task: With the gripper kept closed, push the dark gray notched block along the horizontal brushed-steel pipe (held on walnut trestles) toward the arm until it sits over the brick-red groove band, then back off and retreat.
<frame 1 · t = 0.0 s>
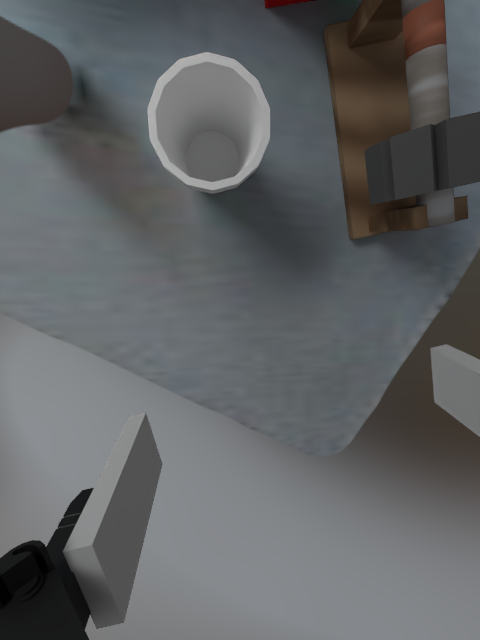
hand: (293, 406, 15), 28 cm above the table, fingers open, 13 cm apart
dark gray notched block: (427, 163, 31), point 9 cm above the table, touching pipe rig
foam cup: (212, 161, 38), on the table
pipe rig: (375, 134, 39), on the table
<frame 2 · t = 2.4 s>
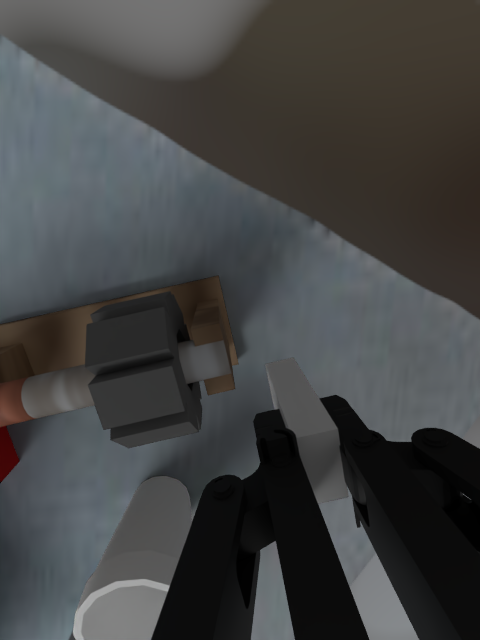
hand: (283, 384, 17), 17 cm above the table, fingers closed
dark gray notched block: (152, 367, 25), point 9 cm above the table, touching pipe rig
foam cup: (162, 498, 39), on the table
pipe rig: (121, 343, 34), on the table
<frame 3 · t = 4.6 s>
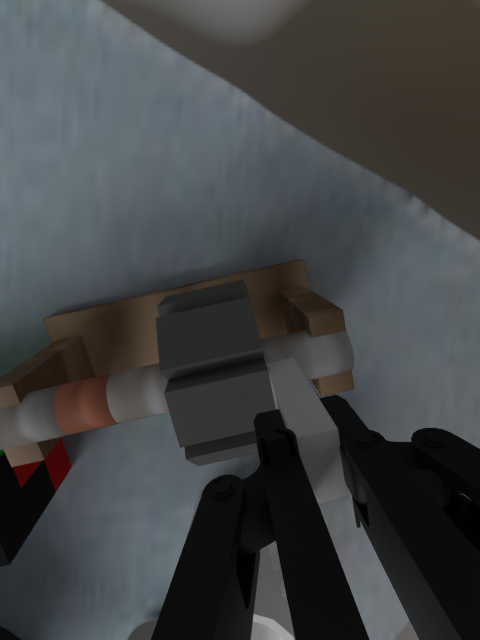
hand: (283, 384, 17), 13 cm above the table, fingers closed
dark gray notched block: (222, 369, 21), point 9 cm above the table, touching gripper, pipe rig
foam cup: (225, 507, 35), on the table
puzzle toy: (3, 430, 31), on the table
pipe rig: (188, 336, 30), on the table
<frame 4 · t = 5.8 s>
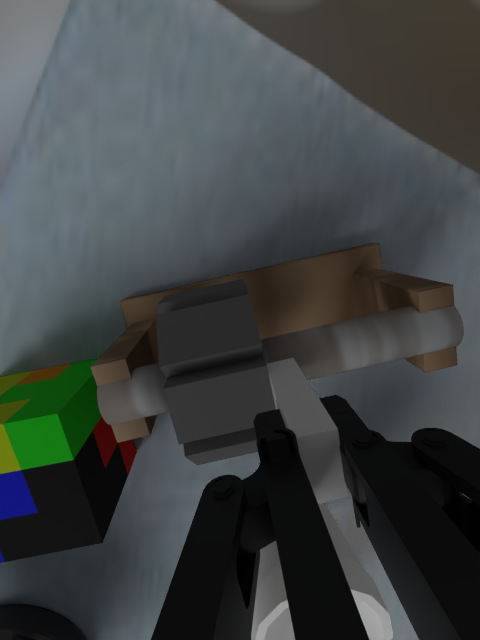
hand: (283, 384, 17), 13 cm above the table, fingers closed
dark gray notched block: (221, 368, 21), point 9 cm above the table, touching pipe rig
foam cup: (285, 493, 35), on the table
puzzle toy: (71, 414, 31), on the table
pipe rig: (258, 320, 30), on the table
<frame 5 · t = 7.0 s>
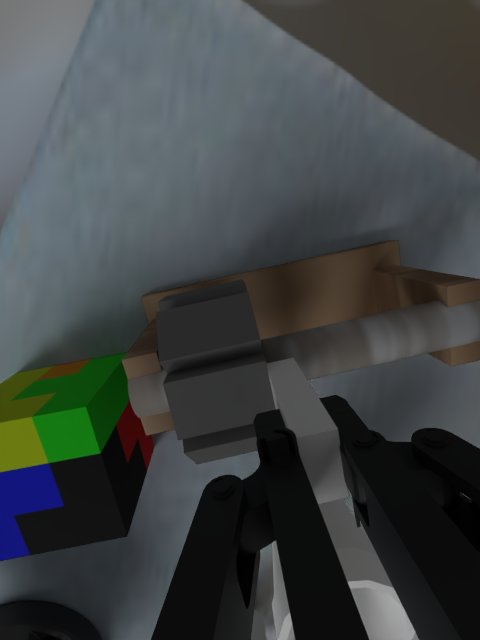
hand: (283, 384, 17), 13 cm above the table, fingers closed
dark gray notched block: (221, 367, 21), point 9 cm above the table, touching gripper, pipe rig
foam cup: (300, 490, 35), on the table
puzzle toy: (89, 410, 32), on the table
pipe rig: (277, 316, 30), on the table
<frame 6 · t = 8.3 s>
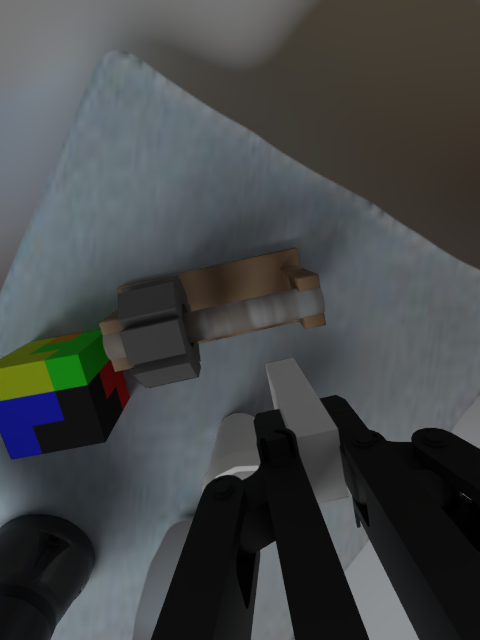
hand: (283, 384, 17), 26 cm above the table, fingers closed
dark gray notched block: (163, 330, 33), point 9 cm above the table, touching pipe rig
foam cup: (239, 431, 47), on the table
puzzle toy: (82, 369, 44), on the table
pipe rig: (215, 302, 42), on the table
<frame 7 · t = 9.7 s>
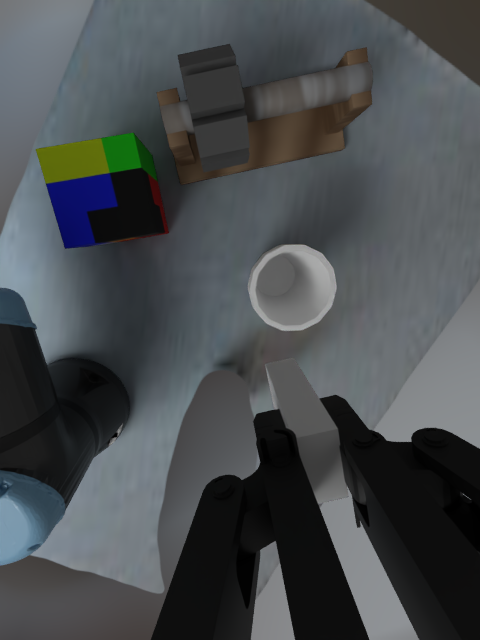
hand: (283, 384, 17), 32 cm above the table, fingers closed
dark gray notched block: (215, 113, 35), point 9 cm above the table, touching pipe rig
foam cup: (273, 275, 49), on the table
puzzle toy: (124, 201, 45), on the table
pipe rig: (255, 131, 44), on the table
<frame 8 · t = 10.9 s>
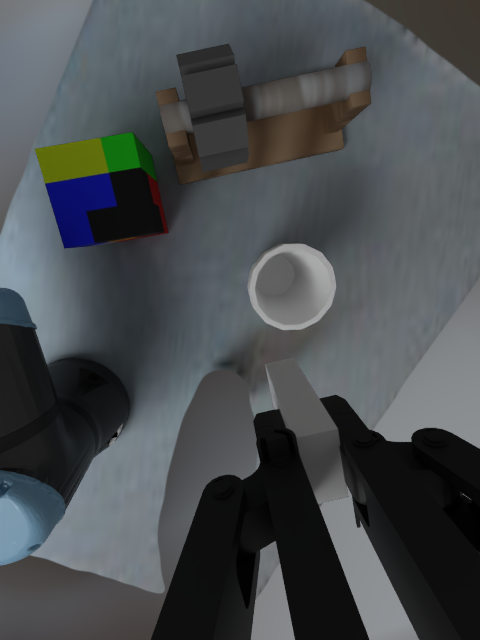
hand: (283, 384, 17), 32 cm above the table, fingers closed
dark gray notched block: (214, 113, 35), point 9 cm above the table, touching pipe rig
foam cup: (273, 274, 49), on the table
puzzle toy: (123, 201, 45), on the table
pipe rig: (254, 130, 44), on the table
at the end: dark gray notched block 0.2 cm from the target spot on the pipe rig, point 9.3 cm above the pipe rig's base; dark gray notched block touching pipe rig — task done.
